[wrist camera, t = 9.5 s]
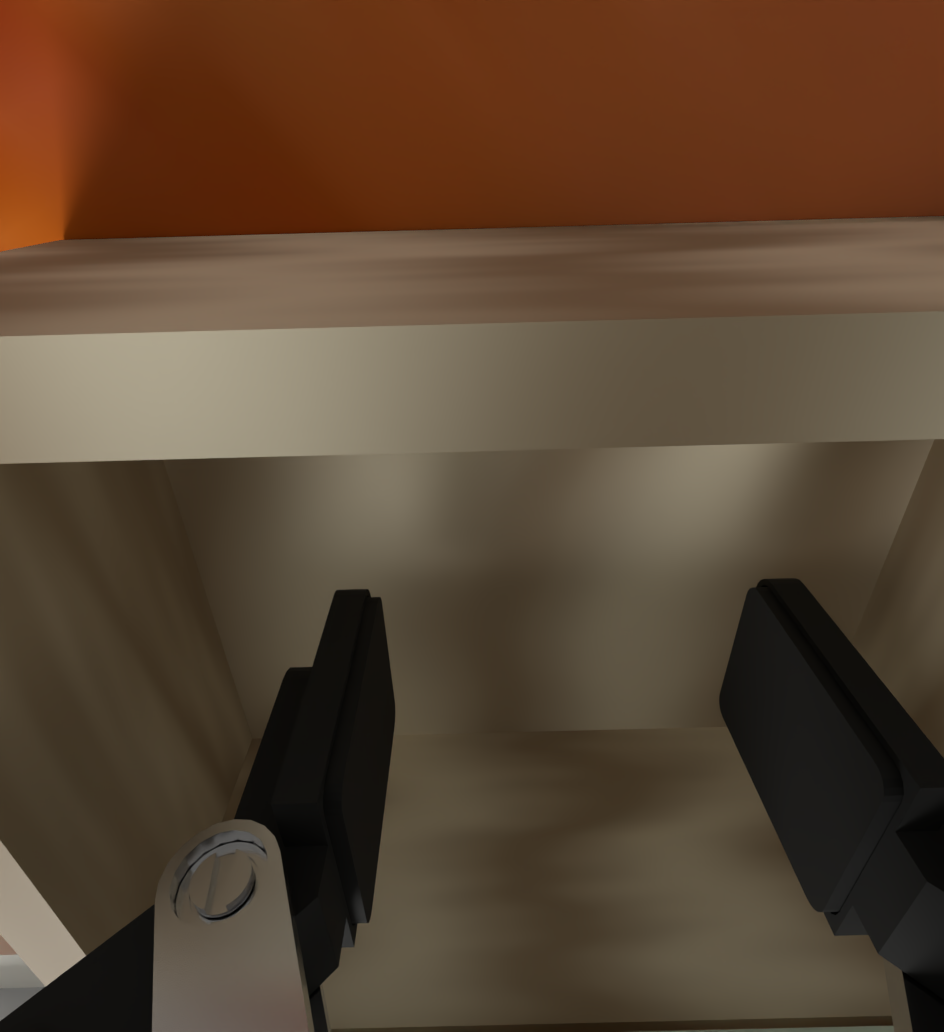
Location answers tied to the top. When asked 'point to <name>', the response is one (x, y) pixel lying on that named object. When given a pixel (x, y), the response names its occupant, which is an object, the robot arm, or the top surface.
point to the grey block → (14, 998)
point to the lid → (802, 1029)
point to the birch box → (467, 584)
